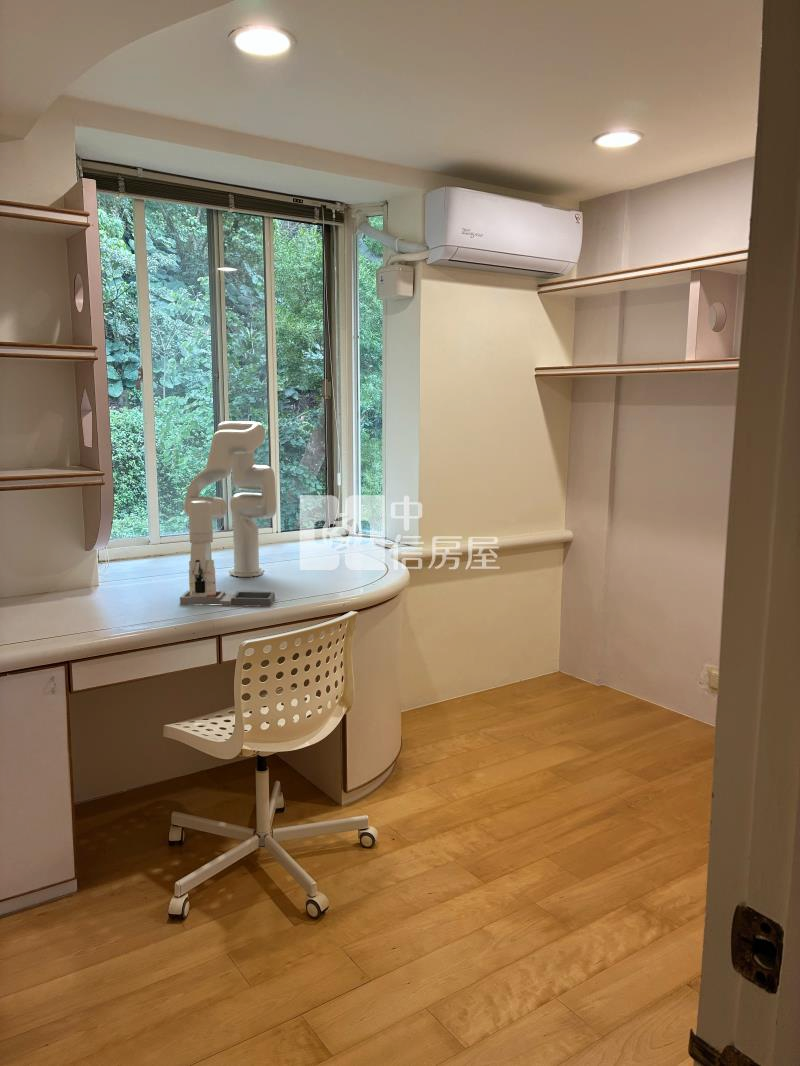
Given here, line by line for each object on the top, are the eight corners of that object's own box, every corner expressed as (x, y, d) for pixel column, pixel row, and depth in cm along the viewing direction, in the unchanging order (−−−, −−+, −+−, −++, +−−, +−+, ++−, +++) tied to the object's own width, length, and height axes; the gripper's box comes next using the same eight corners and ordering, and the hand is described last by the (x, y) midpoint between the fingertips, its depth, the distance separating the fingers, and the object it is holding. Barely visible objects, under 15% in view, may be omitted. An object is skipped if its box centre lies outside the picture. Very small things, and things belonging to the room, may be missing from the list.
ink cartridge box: (216, 599, 271) (215, 556, 268) (216, 602, 266) (214, 559, 263) (190, 600, 269) (189, 557, 266) (189, 603, 264) (188, 560, 261)
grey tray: (225, 598, 272) (225, 591, 271) (275, 599, 271) (274, 592, 271) (219, 605, 263) (218, 598, 262) (270, 606, 262) (270, 599, 262)
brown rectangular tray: (187, 597, 272) (187, 590, 271) (225, 598, 272) (225, 591, 271) (180, 604, 263) (179, 597, 263) (219, 605, 263) (218, 598, 262)
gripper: (197, 532, 272) (198, 583, 275) (182, 542, 255) (184, 596, 258) (218, 533, 272) (220, 584, 275) (205, 542, 255) (207, 597, 258)
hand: (202, 589), depth 267 cm, fingers closed on ink cartridge box, 5 cm apart
